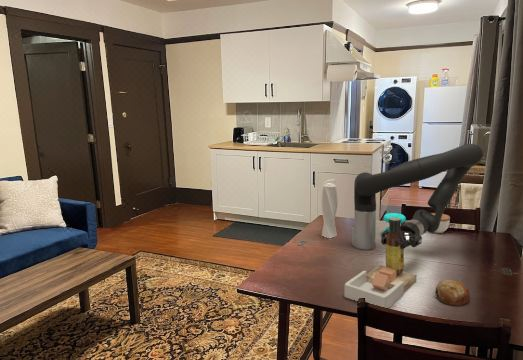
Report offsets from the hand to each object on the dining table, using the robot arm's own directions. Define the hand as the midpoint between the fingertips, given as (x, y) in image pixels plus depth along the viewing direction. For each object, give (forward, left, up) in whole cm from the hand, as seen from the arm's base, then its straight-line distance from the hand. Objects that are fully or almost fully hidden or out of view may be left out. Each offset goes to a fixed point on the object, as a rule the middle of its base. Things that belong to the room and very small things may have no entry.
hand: (391, 244), depth 136 cm
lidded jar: (-6, +66, -15) cm, 68 cm away
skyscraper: (-43, +27, -15) cm, 53 cm away
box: (0, -12, -14) cm, 19 cm away
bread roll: (+20, +2, -15) cm, 25 cm away
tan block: (0, -3, -12) cm, 12 cm away
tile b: (0, -7, -12) cm, 14 cm away
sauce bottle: (0, +3, -11) cm, 12 cm away
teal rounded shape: (-20, +48, -15) cm, 54 cm away
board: (0, 0, -14) cm, 15 cm away
